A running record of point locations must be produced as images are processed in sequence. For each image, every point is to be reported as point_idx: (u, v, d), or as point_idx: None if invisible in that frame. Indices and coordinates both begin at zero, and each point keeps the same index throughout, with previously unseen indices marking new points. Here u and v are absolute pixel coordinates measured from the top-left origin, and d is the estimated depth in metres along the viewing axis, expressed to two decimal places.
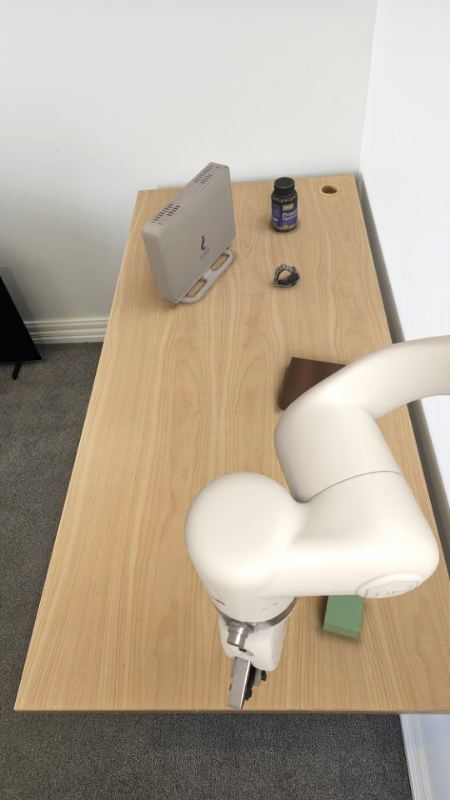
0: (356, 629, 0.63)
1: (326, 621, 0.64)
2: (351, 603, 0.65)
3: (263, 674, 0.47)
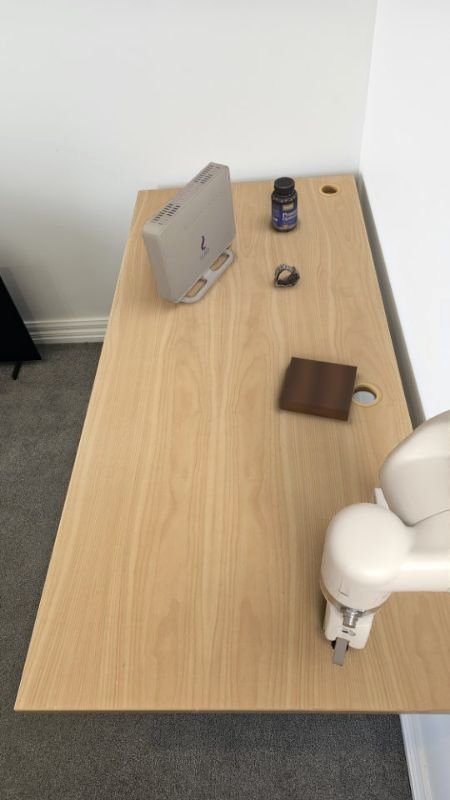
0: None
1: None
2: None
3: None
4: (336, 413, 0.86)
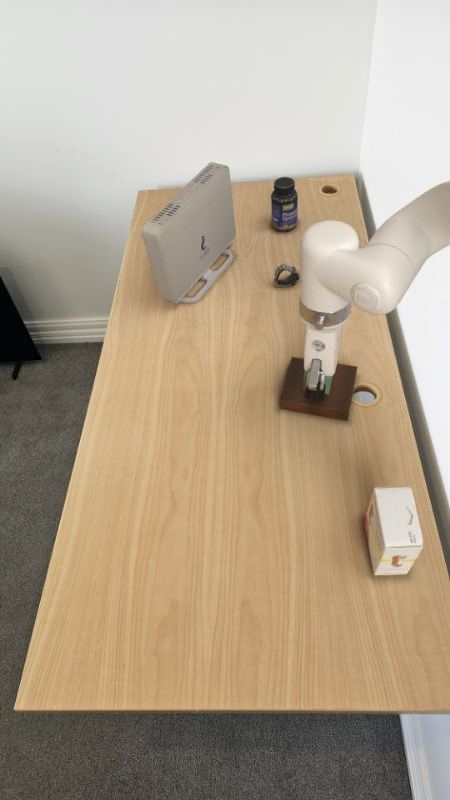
0: (328, 377, 0.83)
1: (305, 374, 0.84)
2: None
3: (324, 386, 0.81)
4: (336, 413, 0.86)
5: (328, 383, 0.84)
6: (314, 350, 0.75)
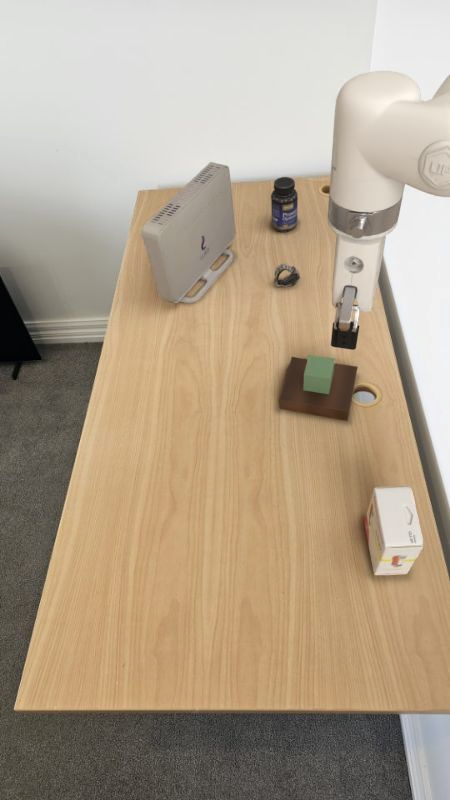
0: (328, 377, 0.83)
1: (305, 374, 0.84)
2: (324, 362, 0.85)
3: (358, 327, 0.61)
4: (336, 413, 0.86)
5: (328, 383, 0.84)
6: (348, 272, 0.55)
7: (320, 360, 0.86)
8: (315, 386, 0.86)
